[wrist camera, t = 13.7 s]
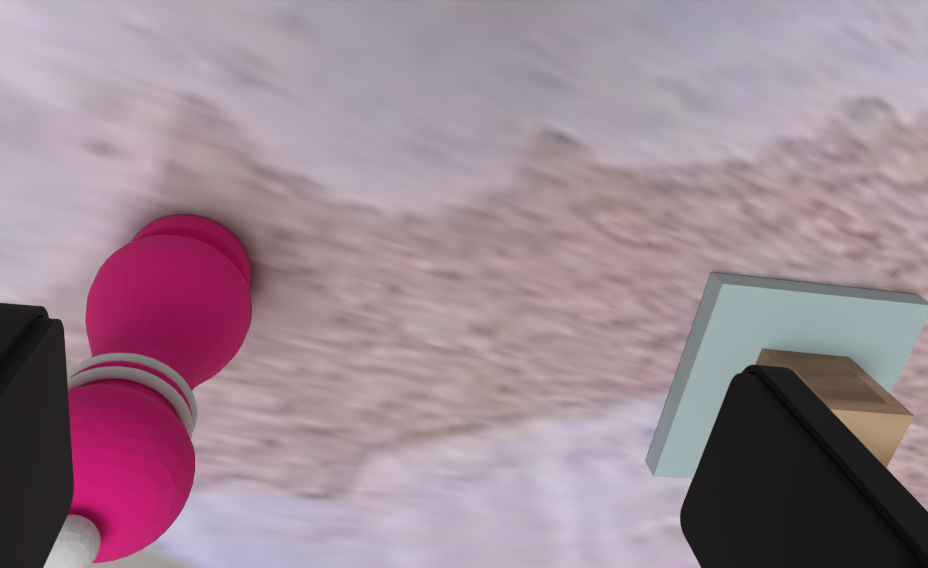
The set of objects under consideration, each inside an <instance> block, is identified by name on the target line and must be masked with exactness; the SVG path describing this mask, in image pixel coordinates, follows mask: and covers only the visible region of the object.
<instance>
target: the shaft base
mask: <svg viewBox="0 0 928 568" xmlns="http://www.w3.org/2000/svg"><path fill="white" fill-rule="evenodd" d="M927 318H928V302H927V301H926V300H924V299H923V298H921V297H920V296H918V295H917V294H908V293H899V292H890V291H880V290H871V289H862V288H853V287H843V286H834V285H825V284H815V283H806V282H797V281H788V280H778V279H769V278H760V277H750V276H741V275H732V274H722V273H713V272H711V275H710V278H709V281H708V283H707V286H706V289H705V292H704V295H703V298H702V301H701V304H700V306H699V309H698V312H697V315H696V318H695V321H694V324H693V326H692V329H691V332H690V335H689V338H688V341H687V344H686V346H685V349H684V352H683V355H682V358H681V361H680V364H679V367H678V369H677V372H676V375H675V378H674V381H673V384H672V387H671V389H670V392H669V395H668V398H667V401H666V404H665V407H664V409H663V412H662V415H661V418H660V421H659V424H658V427H657V429H656V432H655V435H654V438H653V441H652V444H651V447H650V450H649V452H648V455H647V458H646V463H647V465H648V467H649V469H650V471H651V473H652V474H653V476H654V477H675V478H693V477H694V474H695V472H696V469H697V467H698V464H699V462H700V459H701V456H702V454H703V451H704V449H705V446H706V444H707V441H708V438H709V436H710V433H711V431H712V428H713V426H714V423H715V420H716V418H717V415H718V413H719V410H720V408H721V405H722V402H723V400H724V397H725V395H726V392H727V390H728V387H729V384H730V382H731V380H732V378H733V377H734V376H735V375H736V374H738V373H742V371H743V370H744V369H745V368H746V367H747V366H749V365H755V364H756V361H757V359H758V357H759V354H760V352H761V349H772V350H782V351H793V352H803V353H814V354H824V355H835V356H845V357H850V358H851V359H852V360H853V361H854V362H855V363H856V364H858V365H859V366H860V367H861V368H862V369H863V370H864V371H865V372H866V373H867V374H869V375H870V376H871V377H872V378H873V379H874V380H875V381H876V382H877V383H879V384H880V385H881V386H882V387H883V388H884V389H885V390H886V391H887V392H889V393H890V392H891V390H892V388H893V386H894V384H895V382H896V380H897V378H898V376H899V374H900V372H901V370H902V368H903V366H904V364H905V362H906V360H907V358H908V356H909V354H910V352H911V350H912V348H913V346H914V344H915V342H916V340H917V338H918V336H919V334H920V332H921V330H922V328H923V326H924V324H925V322H926V320H927Z"/></svg>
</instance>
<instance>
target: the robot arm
mask: <svg viewBox="0 0 928 568" xmlns="http://www.w3.org/2000/svg"><path fill="white" fill-rule="evenodd" d="M73 493H74V475H73V460H72V445H71V430H70V415H69V400H68V385H67V370H66V354H65V339H64V328H63V324H62V321H61V320H60V319H50V318H49V316H48V313H47V311H46V309H45V308H44V307H43V306H31V305H18V304H6V303H0V568H43V567H44V565H45V563H46V561H47V559H48V557H49V554H50V552H51V550H52V548H53V546H54V544H55V542H56V539H57V537H58V535H59V533H60V531H61V529H62V527H63V524H64V522H65V520H66V518H67V516H68V513H69V511H70V508H71V504H72V499H73ZM680 522H681V528H682V531H683V534H684V536H685V538H686V540H687V541H688V543H689V545H690V547H691V549H692V551H693V553H694V555H695V557H696V558H697V560H698V562H699V564H700V566H701V568H928V512H927V511H926V509H925V508H924V507H923V506H922V505H921V504H920V503H919V502H918V501H917V500H916V499H915V498H914V497H913V496H912V495H911V494H910V493H909V492H908V491H907V490H906V488H905V487H904V486H903V485H902V484H901V483H900V482H899V481H898V480H897V479H896V478H895V477H894V476H893V475H892V474H891V473H890V472H889V471H888V470H887V469H886V468H885V466H884V465H883V464H882V463H881V462H880V461H879V460H878V459H877V458H876V457H875V456H874V455H873V454H872V453H871V452H870V451H869V450H868V449H867V448H866V447H865V445H864V444H863V443H862V442H861V441H860V440H859V439H858V438H857V437H856V436H855V435H854V434H853V433H852V432H851V431H850V430H849V429H848V428H847V427H846V426H845V425H844V423H843V422H842V421H841V420H840V419H839V418H838V417H837V416H836V415H835V414H834V413H833V412H832V411H831V410H830V409H829V408H828V407H827V406H826V405H825V404H824V402H823V401H822V400H821V399H820V398H819V397H818V396H817V395H816V394H815V393H814V392H813V391H812V390H811V389H810V388H809V387H808V386H807V385H806V384H805V383H804V382H803V380H802V379H801V378H800V377H799V376H798V375H797V374H796V373H795V372H794V371H793V370H791V369H790V368H786V367H777V366H765V365H749V366H747V367H746V368H745V369H744V370H743V371H742V373H738V374H736V375H735V376H734V377H733V378H732V380H731V382H730V384H729V387H728V390H727V392H726V395H725V397H724V400H723V402H722V405H721V408H720V410H719V413H718V415H717V418H716V420H715V423H714V426H713V428H712V431H711V433H710V436H709V438H708V441H707V444H706V446H705V449H704V451H703V454H702V456H701V459H700V462H699V464H698V467H697V469H696V472H695V474H694V477H693V480H692V482H691V485H690V487H689V490H688V492H687V495H686V498H685V500H684V503H683V505H682V509H681V514H680Z"/></svg>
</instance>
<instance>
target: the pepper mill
mask: <svg viewBox="0 0 928 568" xmlns="http://www.w3.org/2000/svg"><path fill="white" fill-rule="evenodd" d="M250 282H251V266H250V262H249V259H248V256H247V253H246V251H245V250H244V248H243V246H242V244H241V243H240V242H239V241H238V239H237V238H236V237H235V236H234V235H233V234H232V233H231V232H229V231H228V230H227V229H225V228H224V227H222V226H221V225H219V224H217V223H215V222H213V221H211V220H208V219H205V218H202V217H197V216H192V215H174V216H168V217H164V218H161V219H158V220H156V221H154V222H152V223H150V224H148V225H147V226H145V227H144V228H143V229H141V231H140V232H139V233H138V234H137V235H136V236H135V237H134V239H133V240H132V242H131V243H128V244H127V245H125V246H124V247H122V248H120V249H119V250H117V251H116V252H115V253H114V254H112V255H111V256H110V257H109V258H108V259H107V260H106V261H105V263H104V264H103V265H102V267H101V268H100V269H99V271H98V273H97V276H96V278H95V280H94V282H93V284H92V286H91V288H90V291H89V295H88V298H87V308H86V330H87V335H88V339H89V344H90V348H91V353H92V358H90V359H87V360H85V361H83V362H81V363H80V364H79V365H77V366H76V367H74V368H73V369H71V370H70V371H69V373H68V374H67V385H68V400H69V415H70V430H71V445H72V460H73V475H74V493H73V499H72V504H71V508H70V511H69V513H68V516H67V518H66V520H65V522H64V524H63V527H62V529H61V531H60V533H59V535H58V537H57V539H56V542H55V544H54V546H53V548H52V550H51V552H50V554H49V557H48V559H47V561H46V563H45V565H44V567H43V568H87V567H88V566H89V565H90V564H91V563H102V562H107V561H114V560H117V559H120V558H123V557H127V556H129V555H131V554H133V553H136V552H138V551H140V550H142V549H143V548H145V547H146V546H148V545H150V544H151V543H153V542H154V541H156V540H157V539H158V538H159V537H160V536H161V535H162V534H163V533H164V532H166V530H167V529H168V528H169V527H170V526H171V525H172V523H173V522H174V521H175V520H176V518H177V517H178V516H179V514H180V512H181V511H182V509H183V508H184V505H185V503H186V501H187V499H188V497H189V494H190V491H191V488H192V485H193V480H194V474H195V452H194V448H193V445H192V442H191V437H192V432H193V430H194V428H195V424H196V419H197V405H196V401H195V397H194V395H193V393H192V390H193V388H195V387H196V386H197V385H199V384H201V383H203V382H205V381H206V380H208V379H210V378H212V377H213V376H214V375H216V374H217V373H218V372H219V371H220V370H221V369H222V368H223V367H224V366H225V365H226V364H227V363H228V362H229V361H230V360H231V359H232V358H233V357H234V356H235V355H236V353H237V352H238V350H239V349H240V347H241V345H242V343H243V341H244V339H245V337H246V334H247V332H248V329H249V326H250V323H251V316H252V303H251V295H250V291H249V286H250Z"/></svg>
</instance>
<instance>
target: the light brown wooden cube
mask: <svg viewBox="0 0 928 568" xmlns="http://www.w3.org/2000/svg"><path fill="white" fill-rule="evenodd" d="M755 365H765V366H777V367H786V368H790V369H791V370H793V371H794V372H795V373H796V374H797V375H798V376H799V377H800V378H801V379H802V380H803V382H804V383H805V384H806V385H807V386H808V387H809V388H810V389H811V390H812V391H813V392H814V393H815V394H816V395H817V396H818V397H819V398H820V399H821V400H822V401H823V402H824V404H825V405H826V406H827V407H828V408H829V409H830V410H831V411H832V412H833V413H834V414H835V415H836V416H837V417H838V418H839V419H840V420H841V421H842V422H843V423H844V425H845V426H846V427H847V428H848V429H849V430H850V431H851V432H852V433H853V434H854V435H855V436H856V437H857V438H858V439H859V440H860V441H861V442H862V443H863V444H864V445H865V447H866V448H867V449H868V450H869V451H870V452H871V453H872V454H873V455H874V456H875V457H876V458H877V459H878V460H879V461H880V462H881V463H882V464H883V465H884V466H885V468H887V466H888V464H889V462H890V460H891V458H892V457H893V455H894V453H895V451H896V449H897V447H898V445H899V443H900V442H901V440H902V438H903V436H904V434H905V432H906V430H907V429H908V427H909V425H910V423H911V421H912V419H913V417H914V415H913V414H912V413H911V412H910V411H908V410H907V409H906V408H905V407H904V406H903V405H902V404H901V403H900V402H898V401H897V400H896V399H895V398H894V397H893V396H892V395H891V394H890V393H889V392H887V391H886V390H885V389H884V388H883V387H882V386H881V385H880V384H879V383H877V382H876V381H875V380H874V379H873V378H872V377H871V376H870V375H869V374H867V373H866V372H865V371H864V370H863V369H862V368H861V367H860V366H859V365H858V364H856V363H855V362H854V361H853V360H852V359H851V358H850V357H845V356H835V355H824V354H814V353H803V352H793V351H782V350H772V349H761V352H760V354H759V357H758V359H757V361H756V364H755Z"/></svg>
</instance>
